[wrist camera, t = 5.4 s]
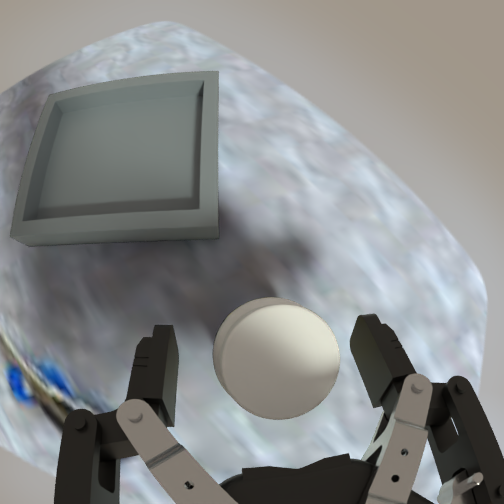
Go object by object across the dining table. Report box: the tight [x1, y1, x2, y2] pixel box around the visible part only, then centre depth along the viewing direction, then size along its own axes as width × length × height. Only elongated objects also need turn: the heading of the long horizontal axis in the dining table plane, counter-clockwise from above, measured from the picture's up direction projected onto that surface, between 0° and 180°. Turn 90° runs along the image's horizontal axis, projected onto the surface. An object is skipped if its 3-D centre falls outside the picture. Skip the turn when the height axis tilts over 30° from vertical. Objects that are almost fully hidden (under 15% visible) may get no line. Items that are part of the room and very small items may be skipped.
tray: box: [10, 71, 219, 246], centre depth 18 cm, size 14×12×2 cm
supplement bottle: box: [213, 297, 340, 420], centre depth 13 cm, size 5×5×8 cm
